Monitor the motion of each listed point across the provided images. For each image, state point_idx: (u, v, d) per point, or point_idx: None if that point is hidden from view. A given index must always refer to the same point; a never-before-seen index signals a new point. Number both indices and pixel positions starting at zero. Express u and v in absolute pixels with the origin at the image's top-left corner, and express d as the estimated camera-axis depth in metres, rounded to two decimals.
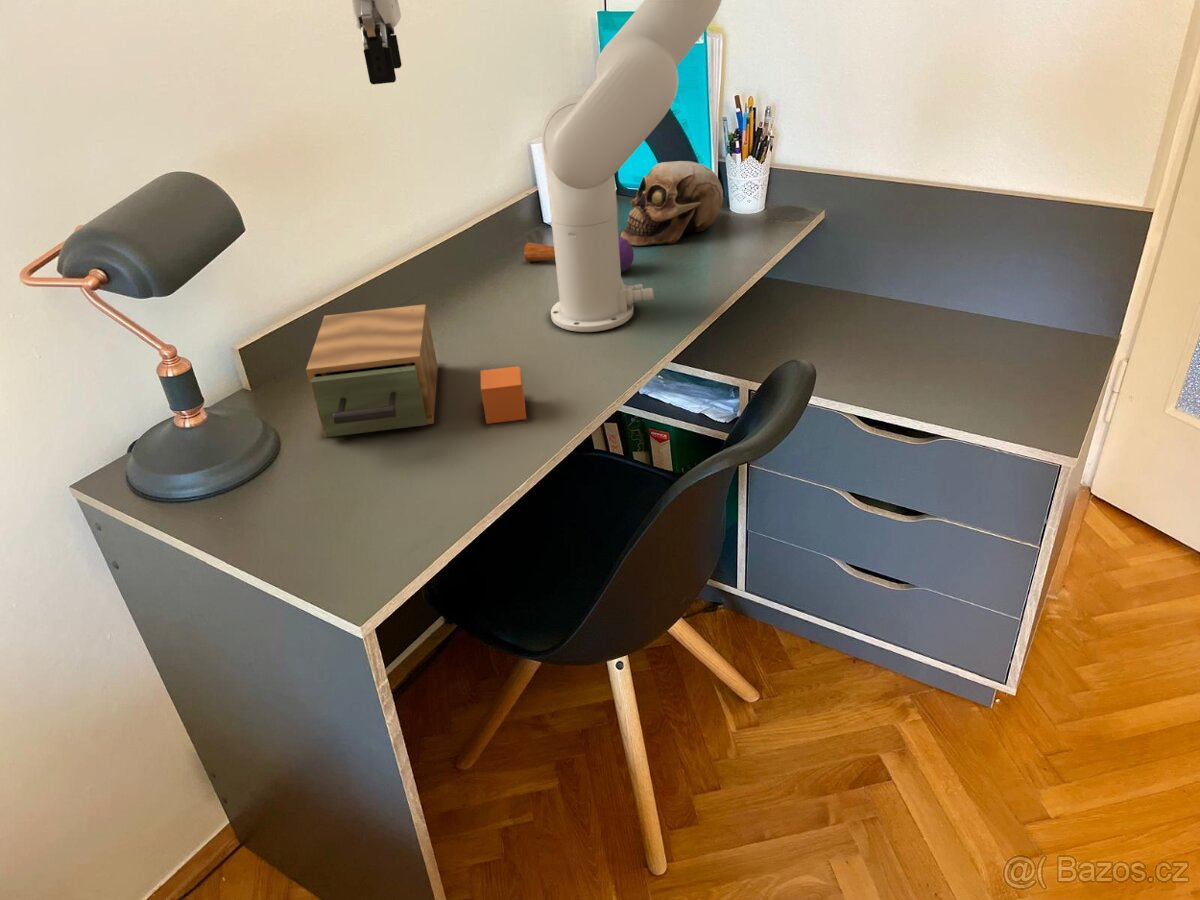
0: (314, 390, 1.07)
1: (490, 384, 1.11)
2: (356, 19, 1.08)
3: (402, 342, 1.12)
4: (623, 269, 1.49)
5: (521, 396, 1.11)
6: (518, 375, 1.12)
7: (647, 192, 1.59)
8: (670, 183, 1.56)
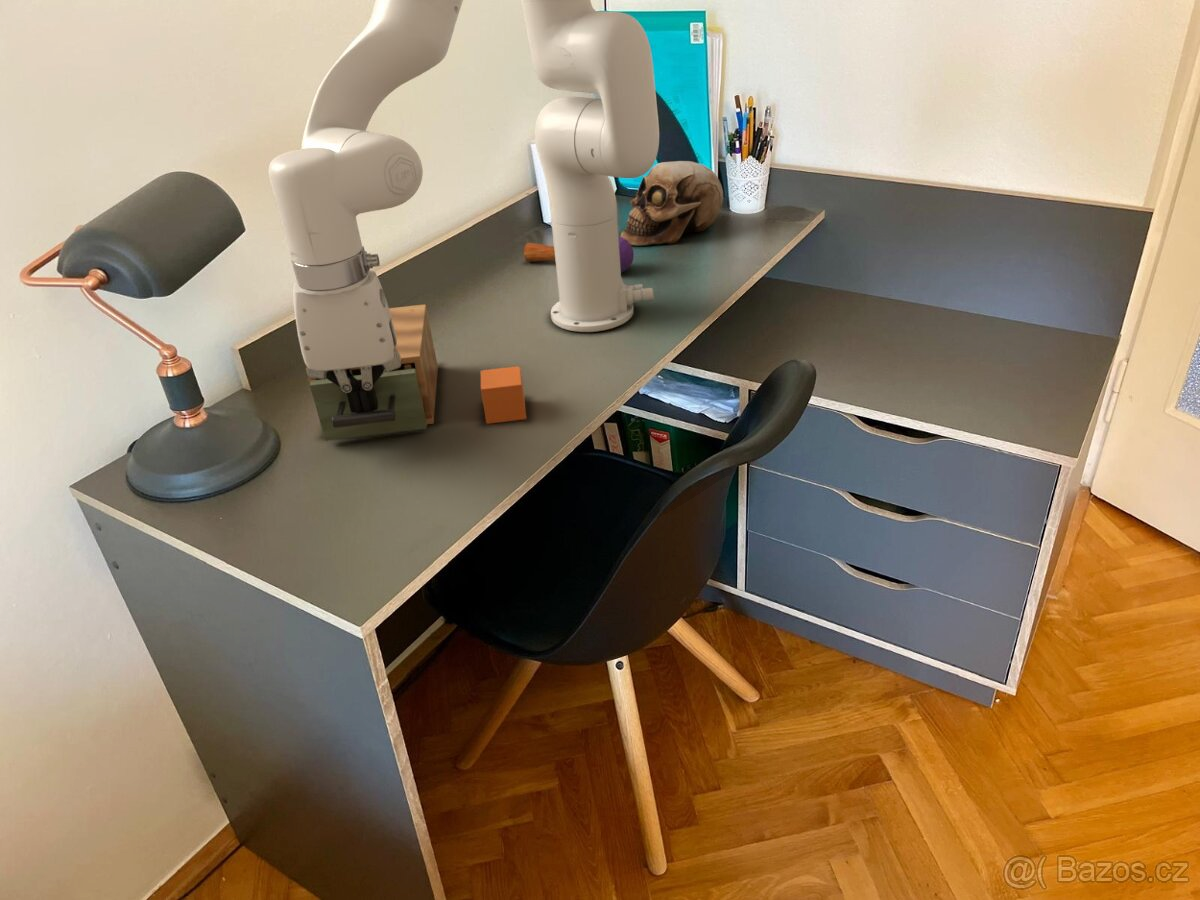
0: (313, 393, 1.07)
1: (490, 384, 1.11)
2: (392, 352, 1.01)
3: (402, 342, 1.12)
4: (623, 269, 1.49)
5: (521, 396, 1.11)
6: (518, 375, 1.12)
7: (647, 192, 1.59)
8: (670, 183, 1.56)
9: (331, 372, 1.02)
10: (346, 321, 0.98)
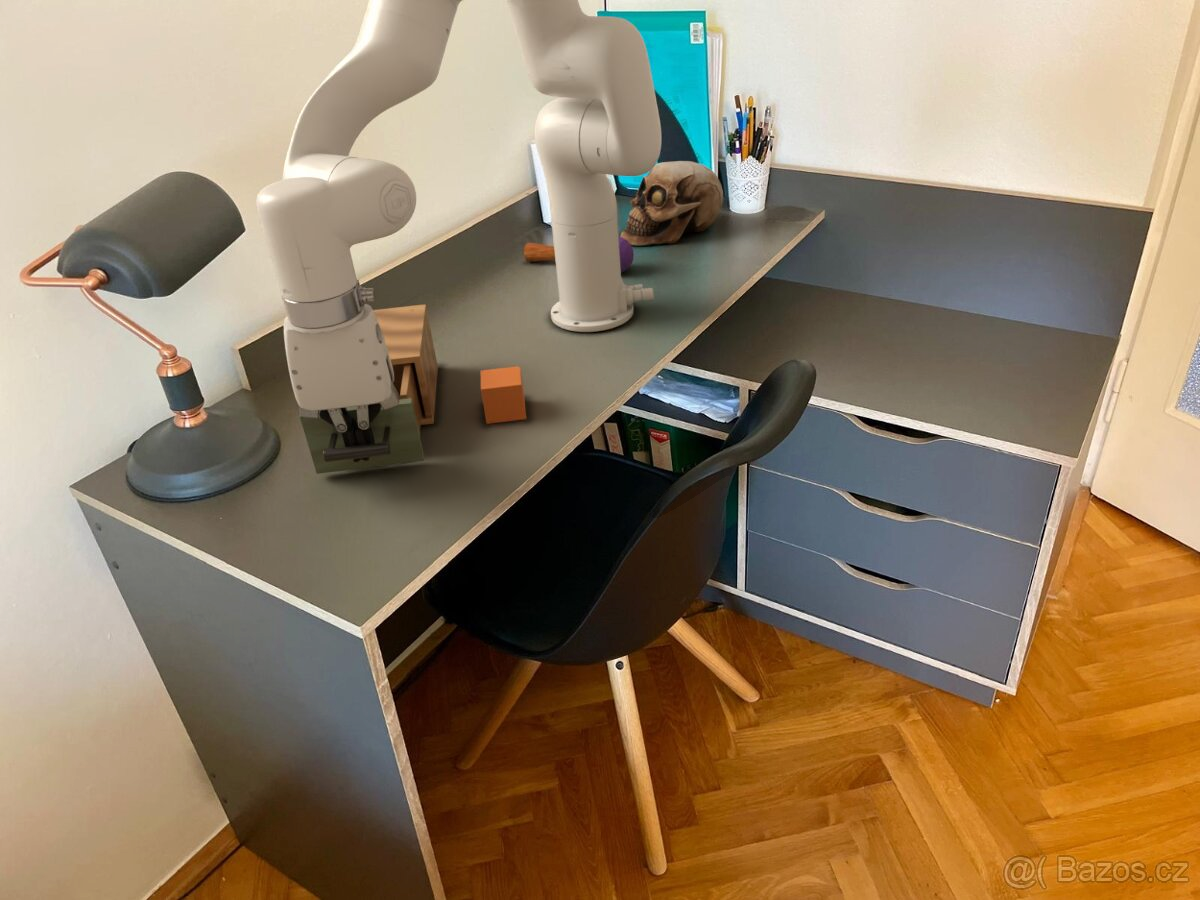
0: (303, 425, 1.00)
1: (490, 384, 1.11)
2: (389, 390, 0.95)
3: (402, 342, 1.12)
4: (623, 269, 1.49)
5: (521, 396, 1.11)
6: (518, 375, 1.12)
7: (647, 192, 1.59)
8: (670, 183, 1.56)
9: (325, 411, 0.97)
10: (340, 359, 0.92)
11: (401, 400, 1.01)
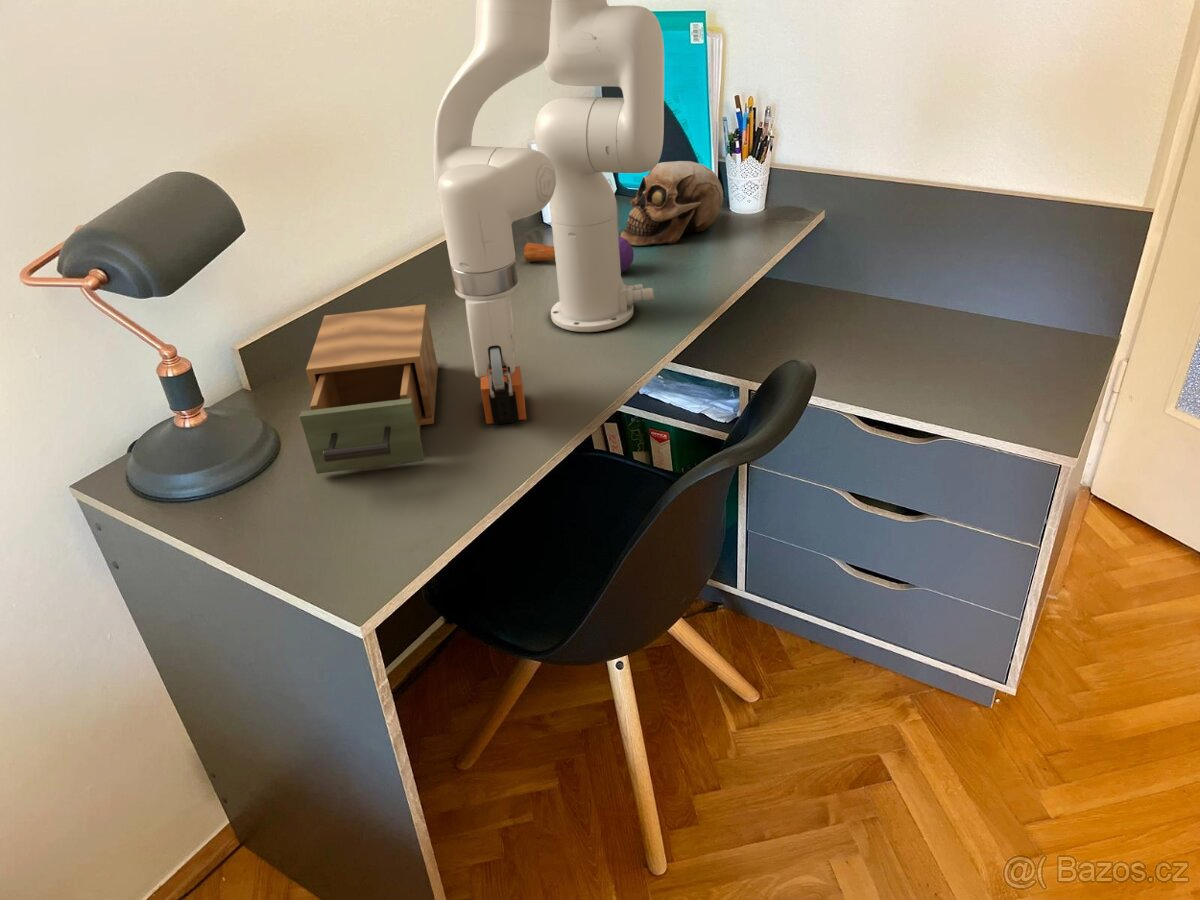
0: (303, 425, 1.00)
1: None
2: None
3: (402, 342, 1.12)
4: (623, 269, 1.49)
5: (521, 396, 1.11)
6: (518, 375, 1.12)
7: (647, 192, 1.59)
8: (670, 183, 1.56)
9: (506, 382, 1.07)
10: None
11: (401, 400, 1.01)
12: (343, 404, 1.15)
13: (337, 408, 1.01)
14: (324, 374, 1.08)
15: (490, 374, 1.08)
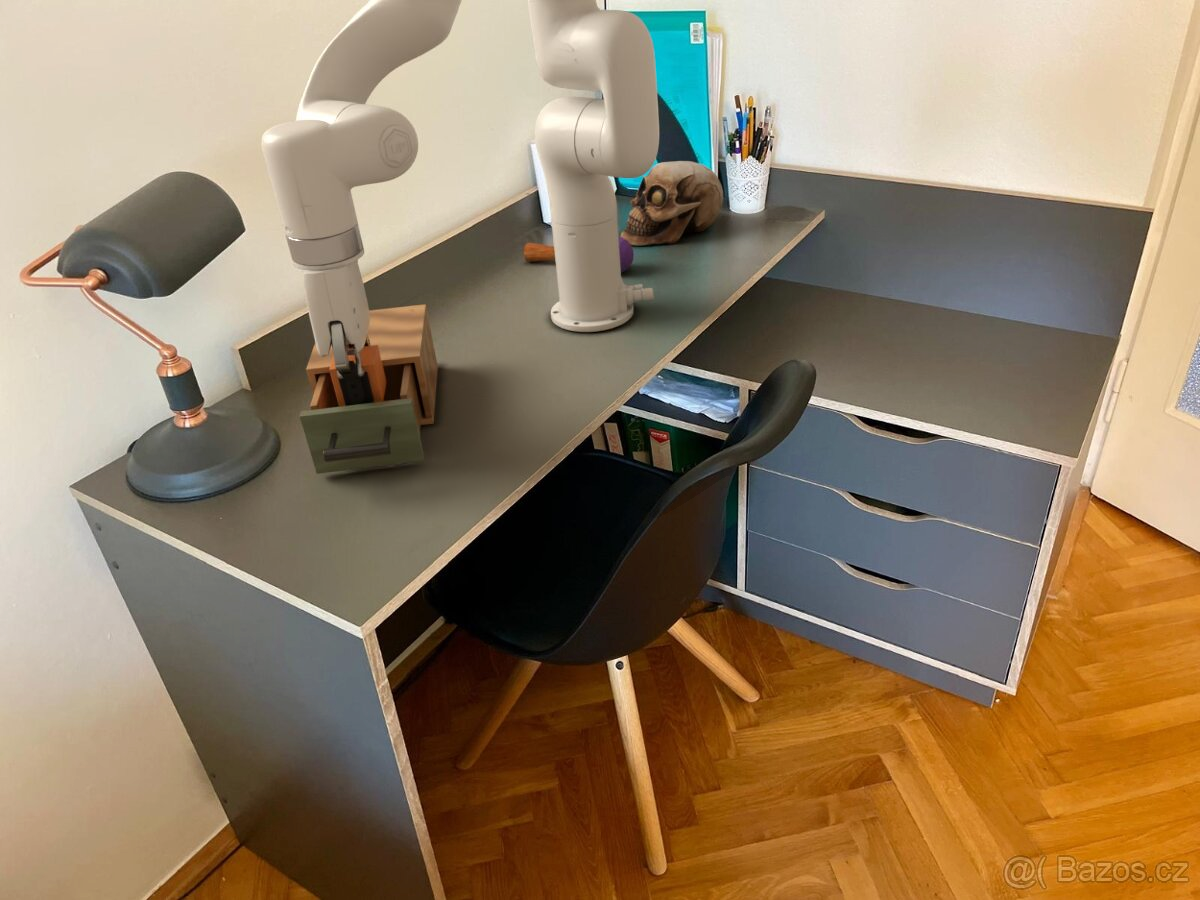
0: (303, 425, 1.00)
1: None
2: None
3: (402, 342, 1.12)
4: (623, 269, 1.49)
5: (375, 377, 1.02)
6: (373, 354, 1.03)
7: (647, 192, 1.59)
8: (670, 183, 1.56)
9: (353, 361, 0.98)
10: (360, 283, 0.99)
11: (401, 400, 1.01)
12: None
13: (337, 408, 1.01)
14: (324, 374, 1.08)
15: None
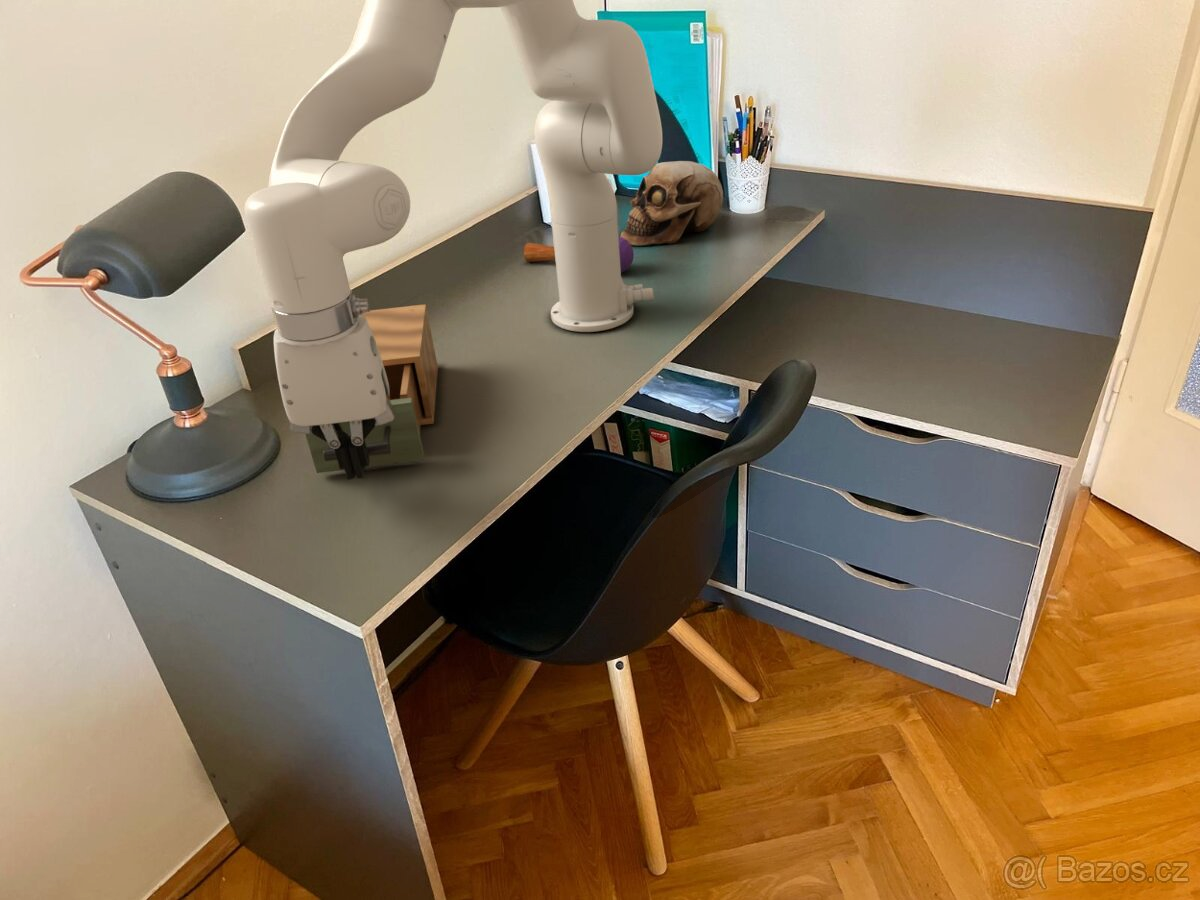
0: None
1: None
2: (384, 405, 0.91)
3: (402, 342, 1.12)
4: (623, 269, 1.49)
5: None
6: None
7: (647, 192, 1.59)
8: (670, 183, 1.56)
9: (317, 427, 0.93)
10: (333, 373, 0.88)
11: (401, 399, 1.01)
12: None
13: None
14: None
15: None
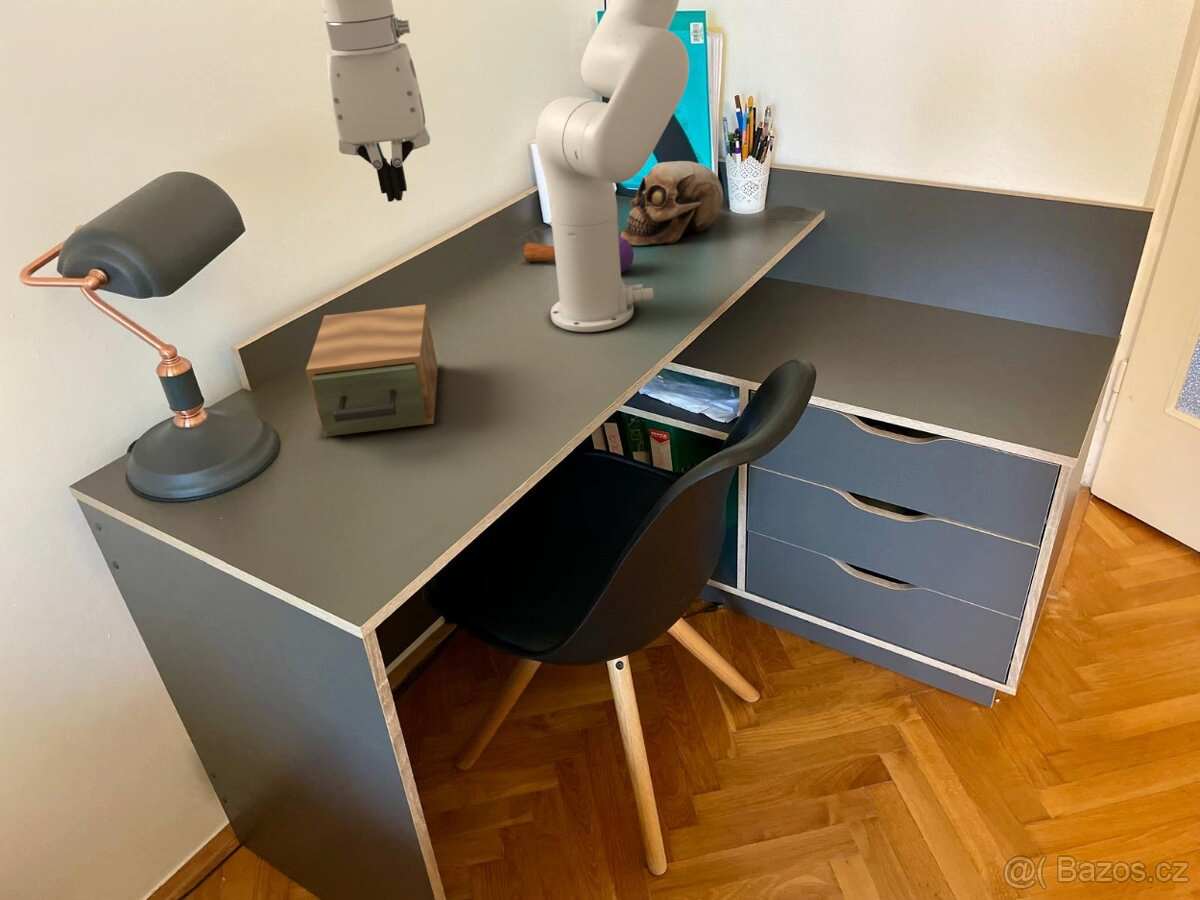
0: (315, 388, 1.08)
1: None
2: (421, 125, 1.05)
3: (402, 342, 1.12)
4: (623, 269, 1.49)
5: None
6: None
7: (647, 192, 1.59)
8: (670, 183, 1.56)
9: (362, 147, 1.06)
10: (378, 87, 1.01)
11: (406, 365, 1.08)
12: None
13: (346, 372, 1.08)
14: None
15: None
